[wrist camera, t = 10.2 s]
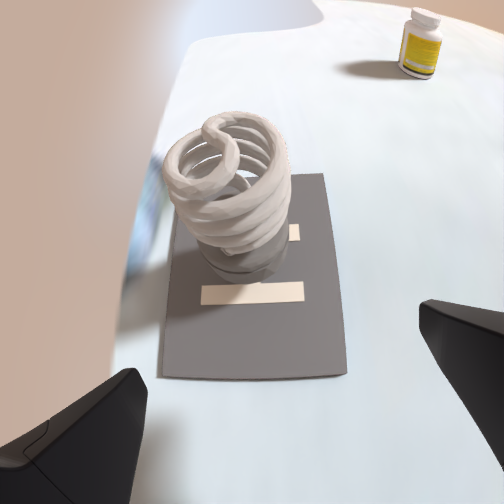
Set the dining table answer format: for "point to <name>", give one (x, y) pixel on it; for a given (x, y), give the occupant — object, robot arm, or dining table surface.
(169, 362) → the board
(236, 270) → the light bulb
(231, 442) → the dining table surface
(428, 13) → the supplement bottle
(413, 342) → the dining table surface
